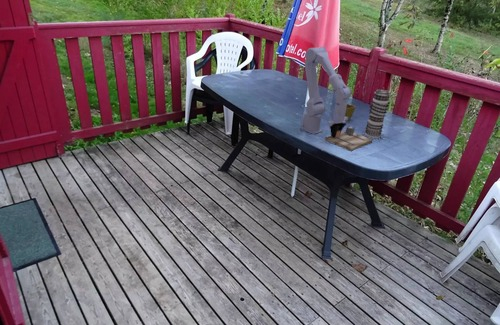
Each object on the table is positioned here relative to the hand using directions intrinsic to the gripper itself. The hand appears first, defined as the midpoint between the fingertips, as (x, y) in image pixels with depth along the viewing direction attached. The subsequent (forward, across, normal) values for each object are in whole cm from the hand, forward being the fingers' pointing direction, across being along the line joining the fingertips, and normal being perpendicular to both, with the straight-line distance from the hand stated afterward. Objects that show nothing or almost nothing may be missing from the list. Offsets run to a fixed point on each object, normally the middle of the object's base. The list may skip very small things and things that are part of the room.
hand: (335, 136), depth 187 cm
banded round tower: (+2, +24, -8) cm, 25 cm away
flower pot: (+2, +30, +16) cm, 34 cm away
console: (+2, +5, -6) cm, 8 cm away
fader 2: (0, +10, -2) cm, 10 cm away
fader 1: (0, 0, 0) cm, 0 cm away
